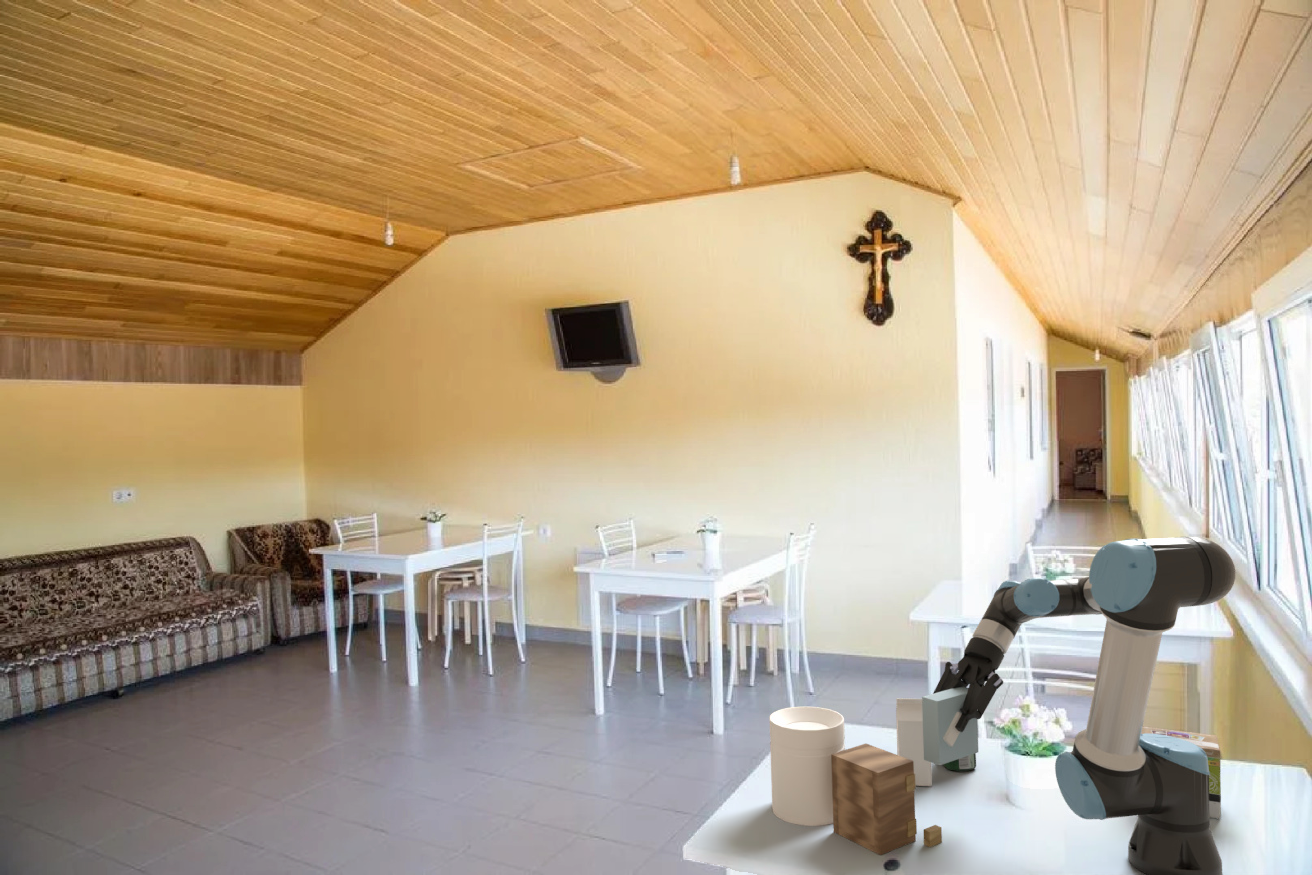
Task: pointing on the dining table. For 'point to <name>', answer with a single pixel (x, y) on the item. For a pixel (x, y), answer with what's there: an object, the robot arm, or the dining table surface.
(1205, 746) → the tea box
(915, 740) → the milk carton
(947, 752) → the door
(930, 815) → the dining table surface
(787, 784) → the canister
